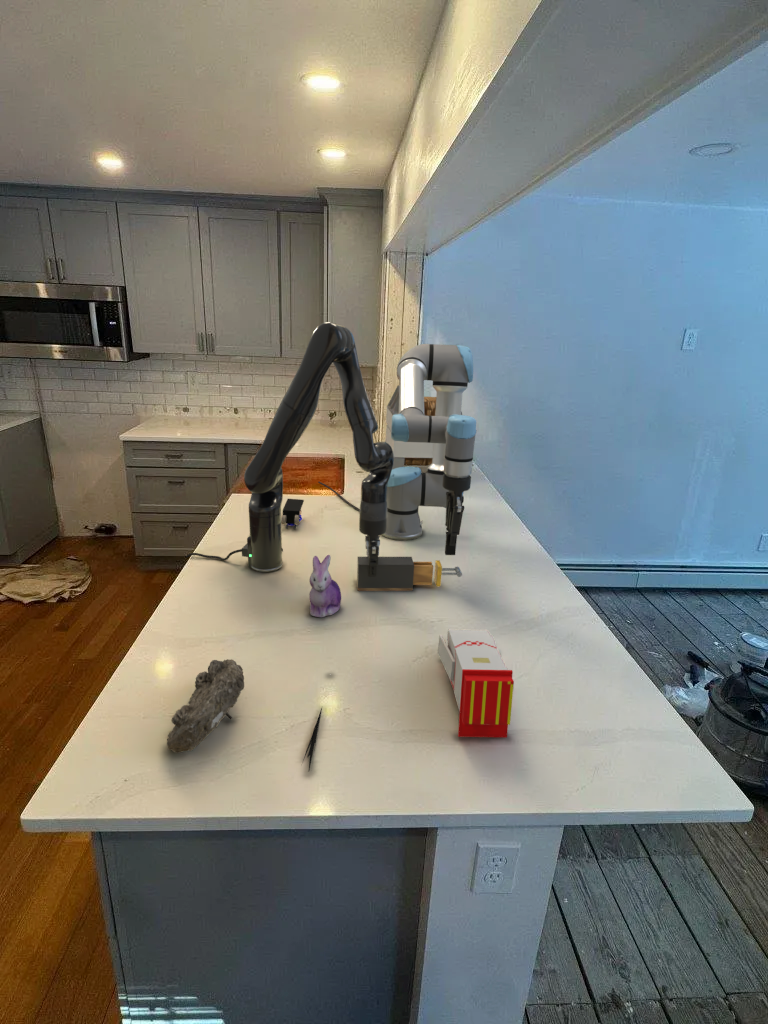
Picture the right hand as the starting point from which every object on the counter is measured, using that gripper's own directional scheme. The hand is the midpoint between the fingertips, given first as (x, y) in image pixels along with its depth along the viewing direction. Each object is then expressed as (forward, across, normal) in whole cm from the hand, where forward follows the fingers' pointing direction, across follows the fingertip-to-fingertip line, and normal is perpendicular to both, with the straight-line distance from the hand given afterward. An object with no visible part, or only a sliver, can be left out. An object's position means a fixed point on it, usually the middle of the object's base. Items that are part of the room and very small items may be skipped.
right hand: (449, 553), depth 160 cm
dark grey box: (+10, 0, +18) cm, 21 cm away
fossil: (+9, -54, +56) cm, 78 cm away
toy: (+9, -48, +4) cm, 49 cm away
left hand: (+5, 0, +22) cm, 23 cm away
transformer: (+12, +118, -9) cm, 119 cm away
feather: (+9, -56, +35) cm, 67 cm away
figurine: (+10, -14, +35) cm, 39 cm away
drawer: (+9, 0, +7) cm, 11 cm away
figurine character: (+11, +48, +47) cm, 68 cm away
